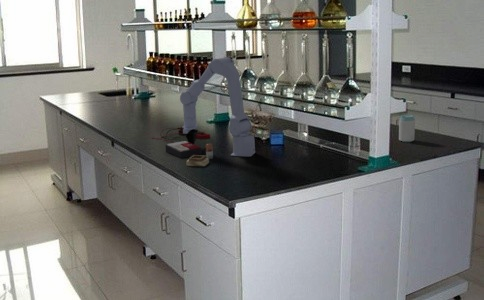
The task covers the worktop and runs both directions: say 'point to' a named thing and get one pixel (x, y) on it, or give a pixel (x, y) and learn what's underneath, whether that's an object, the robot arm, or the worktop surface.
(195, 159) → the tan rectangular frame
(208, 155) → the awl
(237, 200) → the worktop surface
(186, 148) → the calculator
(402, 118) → the can
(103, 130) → the worktop surface
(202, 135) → the digital clamp meter
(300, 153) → the worktop surface
